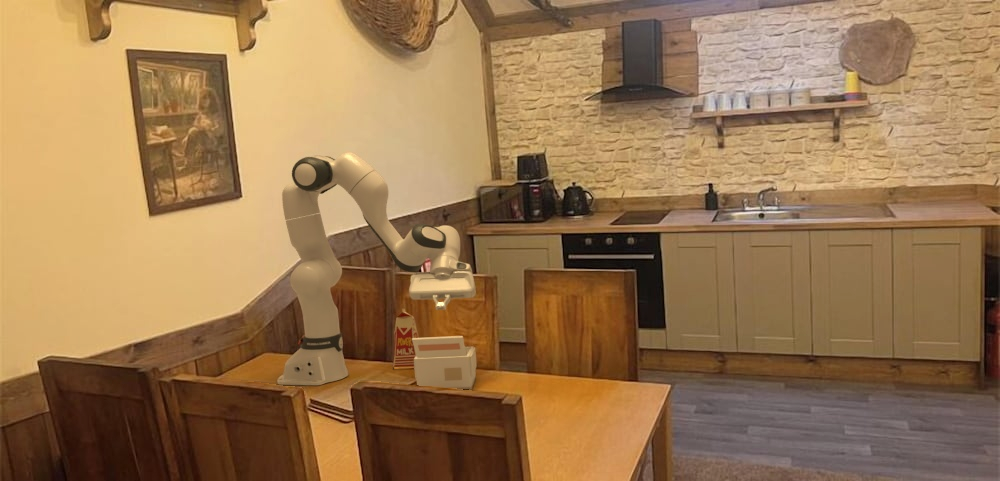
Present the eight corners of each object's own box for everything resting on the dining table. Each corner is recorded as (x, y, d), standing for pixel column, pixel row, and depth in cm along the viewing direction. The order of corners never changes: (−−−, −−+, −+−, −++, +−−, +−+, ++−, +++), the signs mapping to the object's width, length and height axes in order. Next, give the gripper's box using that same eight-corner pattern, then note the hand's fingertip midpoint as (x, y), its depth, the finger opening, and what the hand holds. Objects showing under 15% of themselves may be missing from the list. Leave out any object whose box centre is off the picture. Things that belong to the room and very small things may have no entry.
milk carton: (420, 368, 241) (415, 309, 238) (392, 370, 241) (387, 310, 239) (423, 361, 250) (419, 303, 248) (396, 362, 250) (392, 305, 248)
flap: (417, 356, 214) (416, 358, 213) (412, 338, 209) (411, 340, 208) (466, 354, 213) (466, 356, 212) (462, 335, 207) (462, 337, 207)
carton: (415, 392, 215) (413, 359, 214) (423, 379, 228) (421, 348, 227) (473, 390, 214) (470, 356, 212) (477, 377, 226) (475, 345, 225)
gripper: (409, 266, 225) (404, 304, 216) (475, 264, 223) (472, 301, 214) (413, 278, 230) (408, 315, 221) (477, 276, 228) (475, 313, 219)
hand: (440, 308), depth 218 cm, fingers closed
